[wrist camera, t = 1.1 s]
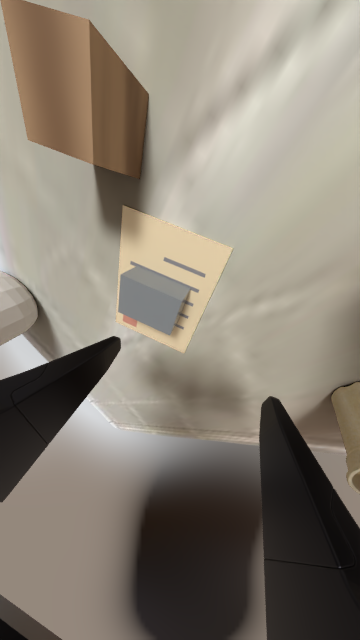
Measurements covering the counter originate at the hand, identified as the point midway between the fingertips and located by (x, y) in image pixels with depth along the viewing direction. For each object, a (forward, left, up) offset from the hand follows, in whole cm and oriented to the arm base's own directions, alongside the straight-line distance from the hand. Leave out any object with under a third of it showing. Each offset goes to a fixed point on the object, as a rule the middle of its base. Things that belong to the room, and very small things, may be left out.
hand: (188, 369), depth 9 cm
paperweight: (+6, +3, -11) cm, 13 cm away
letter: (+6, +3, -12) cm, 14 cm away
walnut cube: (+13, -10, -12) cm, 20 cm away
